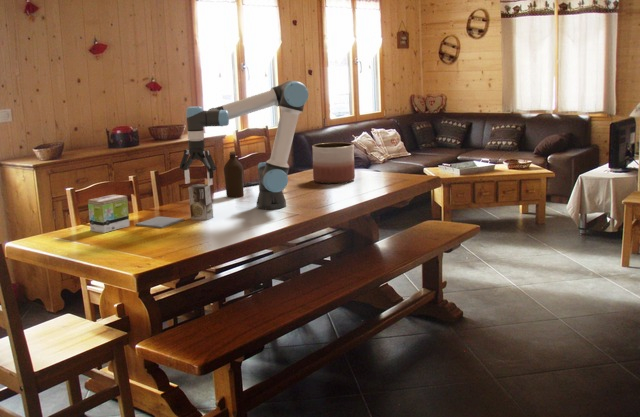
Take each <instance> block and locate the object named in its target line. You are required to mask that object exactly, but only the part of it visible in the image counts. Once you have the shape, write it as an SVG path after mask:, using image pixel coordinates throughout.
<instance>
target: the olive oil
mask: <svg viewBox="0 0 640 417" xmlns="http://www.w3.org/2000/svg"><path fill="white" fill-rule="evenodd" d="M228 155H229V159H228V160H227V162H226V163H225V165H224V167H223V174H224V182H225V186H226V187H225V192H226V194H225V195H226V197H227V198H230V199H234V198H235V199H236V198H242V197H244V193H245V192H244V191H245V190H244V188H243V183H244V167H243V164H242V163H241V162H240V161H239V160H238V159H237V153H236V151H235V150H234V151H229V154H228Z"/></svg>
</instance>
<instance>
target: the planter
mask: <svg viewBox="0 0 640 417" xmlns="http://www.w3.org/2000/svg"><path fill="white" fill-rule="evenodd" d="M311 147H312V178H313V181H314V182H315V183H319V184H325V185H326V184H328V185H339V183H340V184H346V182H347V183H350V182H352V181H354V180H355V176H356V174H355V169H356V168H355V148H354V147H355V144H354V143H351V142H324V143H315V144H313V145H312V146H311Z"/></svg>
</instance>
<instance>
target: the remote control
mask: <svg viewBox="0 0 640 417" xmlns="http://www.w3.org/2000/svg"><path fill="white" fill-rule="evenodd" d="M257 186H259V180H257V181H251V182H243V189H245V188H251V187H257ZM224 188H226V185H225V187H224Z"/></svg>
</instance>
